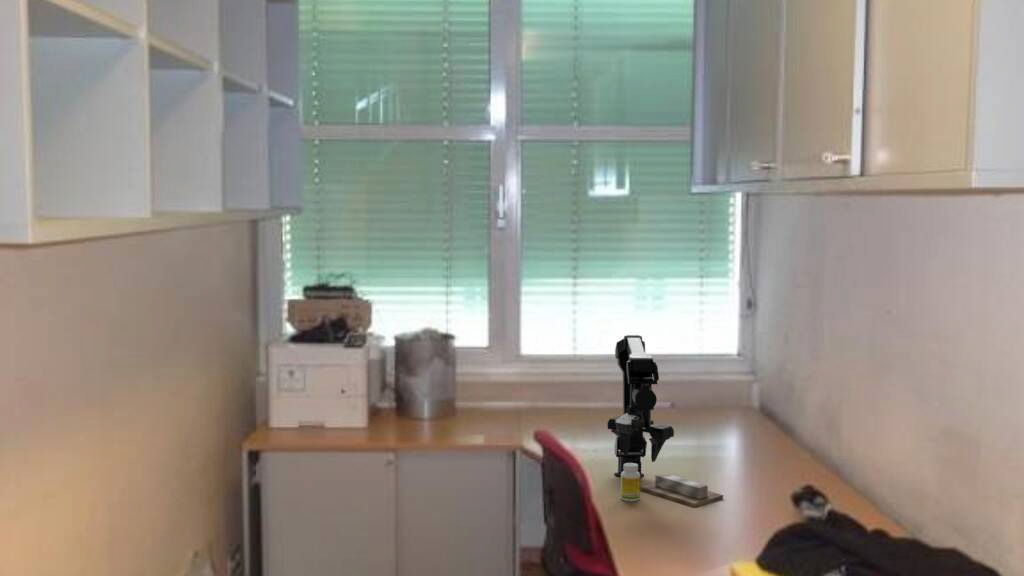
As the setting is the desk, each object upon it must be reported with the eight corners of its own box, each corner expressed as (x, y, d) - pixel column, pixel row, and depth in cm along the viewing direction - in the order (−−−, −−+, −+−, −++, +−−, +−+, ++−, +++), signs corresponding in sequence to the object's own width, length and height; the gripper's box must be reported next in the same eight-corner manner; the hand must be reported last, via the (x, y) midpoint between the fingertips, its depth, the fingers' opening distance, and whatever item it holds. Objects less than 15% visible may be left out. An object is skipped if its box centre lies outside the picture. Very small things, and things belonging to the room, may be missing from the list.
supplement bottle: (617, 496, 277) (618, 462, 276) (635, 495, 278) (636, 461, 278) (624, 502, 272) (624, 467, 271) (642, 500, 273) (643, 466, 272)
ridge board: (639, 490, 283) (639, 476, 283) (668, 482, 291) (668, 468, 290) (694, 507, 268) (694, 492, 267) (723, 498, 275) (723, 484, 275)
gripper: (595, 401, 273) (594, 457, 275) (651, 412, 260) (650, 471, 262) (620, 395, 281) (619, 450, 283) (675, 405, 268) (674, 462, 270)
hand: (639, 458), depth 274 cm, fingers open, 9 cm apart
